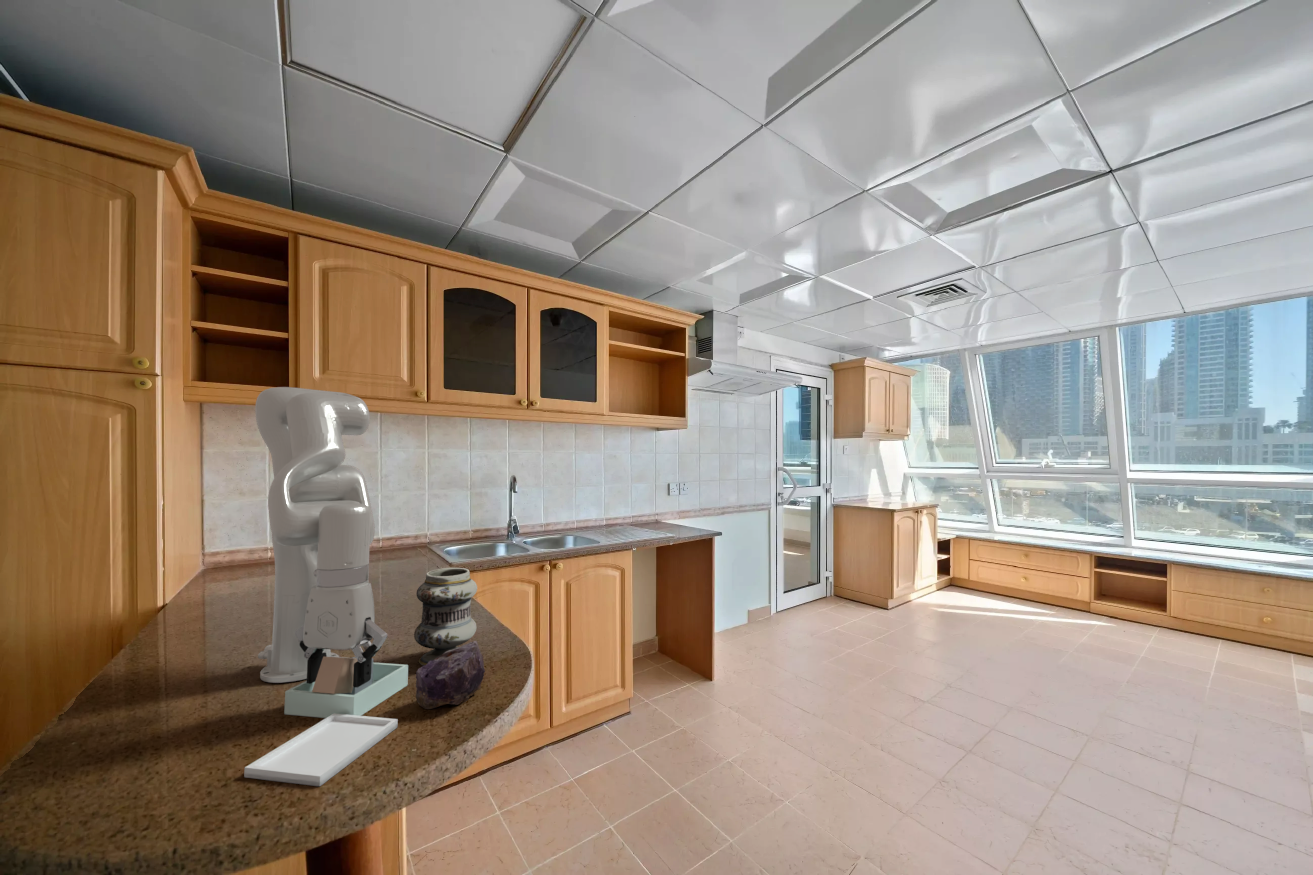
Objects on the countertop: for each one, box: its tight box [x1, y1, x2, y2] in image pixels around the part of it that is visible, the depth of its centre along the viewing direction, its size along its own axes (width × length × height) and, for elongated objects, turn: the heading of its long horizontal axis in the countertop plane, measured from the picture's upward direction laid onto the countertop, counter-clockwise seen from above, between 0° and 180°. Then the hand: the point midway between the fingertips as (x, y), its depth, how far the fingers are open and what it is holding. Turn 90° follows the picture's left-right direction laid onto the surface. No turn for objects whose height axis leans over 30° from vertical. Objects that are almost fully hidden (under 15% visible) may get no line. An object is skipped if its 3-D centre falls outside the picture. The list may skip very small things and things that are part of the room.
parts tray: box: [243, 713, 399, 787], centre depth 68 cm, size 11×14×1 cm
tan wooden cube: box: [312, 656, 358, 694], centre depth 80 cm, size 4×4×5 cm
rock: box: [415, 640, 486, 710], centre depth 83 cm, size 12×9×10 cm
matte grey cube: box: [336, 656, 374, 695], centre depth 84 cm, size 4×4×5 cm
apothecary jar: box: [413, 567, 478, 667], centre depth 102 cm, size 12×12×18 cm
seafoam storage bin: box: [283, 661, 409, 719], centre depth 83 cm, size 13×13×4 cm
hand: (338, 681), depth 81 cm, fingers open, 8 cm apart
